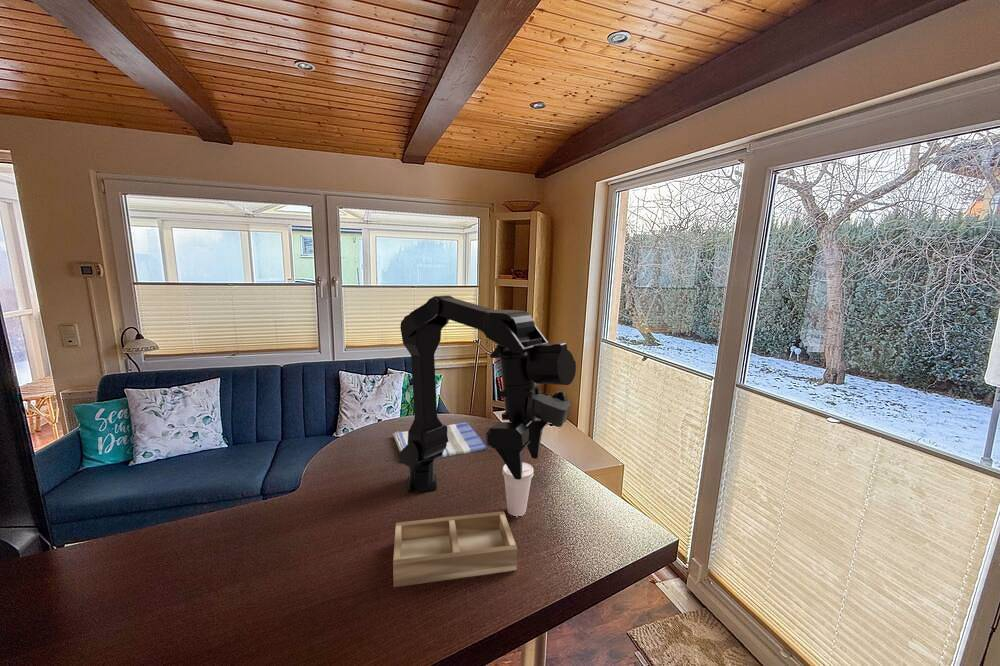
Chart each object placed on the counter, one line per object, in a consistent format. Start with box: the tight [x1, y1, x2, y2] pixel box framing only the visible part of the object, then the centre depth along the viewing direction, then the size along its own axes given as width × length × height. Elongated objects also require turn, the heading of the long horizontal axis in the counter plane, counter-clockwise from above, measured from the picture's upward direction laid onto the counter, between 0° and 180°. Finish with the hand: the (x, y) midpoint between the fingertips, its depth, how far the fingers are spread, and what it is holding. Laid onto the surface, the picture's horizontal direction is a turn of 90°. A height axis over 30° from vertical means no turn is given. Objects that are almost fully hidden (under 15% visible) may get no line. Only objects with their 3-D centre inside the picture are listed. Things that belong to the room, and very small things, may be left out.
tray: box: [392, 511, 518, 588], centre depth 70 cm, size 10×20×4 cm, turn 102°
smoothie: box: [501, 461, 535, 518], centre depth 82 cm, size 6×6×14 cm
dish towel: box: [392, 422, 488, 460], centre depth 114 cm, size 17×24×3 cm
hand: (527, 468), depth 72 cm, fingers open, 9 cm apart
